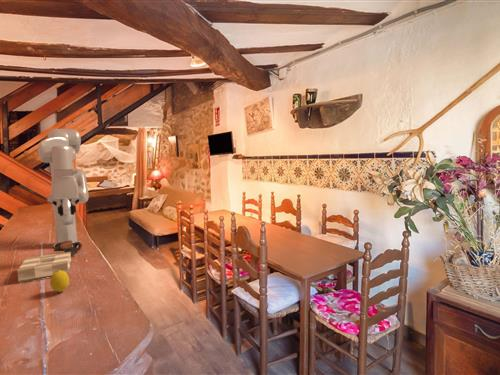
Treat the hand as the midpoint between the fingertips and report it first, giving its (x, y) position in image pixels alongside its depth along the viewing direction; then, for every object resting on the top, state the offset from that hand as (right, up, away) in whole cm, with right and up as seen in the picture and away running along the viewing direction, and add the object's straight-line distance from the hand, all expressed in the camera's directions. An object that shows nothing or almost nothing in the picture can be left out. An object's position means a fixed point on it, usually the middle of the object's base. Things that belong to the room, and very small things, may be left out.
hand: (67, 214), depth 133 cm
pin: (0, -4, 0) cm, 4 cm away
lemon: (+16, -25, -29) cm, 41 cm away
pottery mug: (-6, -21, +11) cm, 25 cm away
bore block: (-2, -23, -10) cm, 25 cm away
